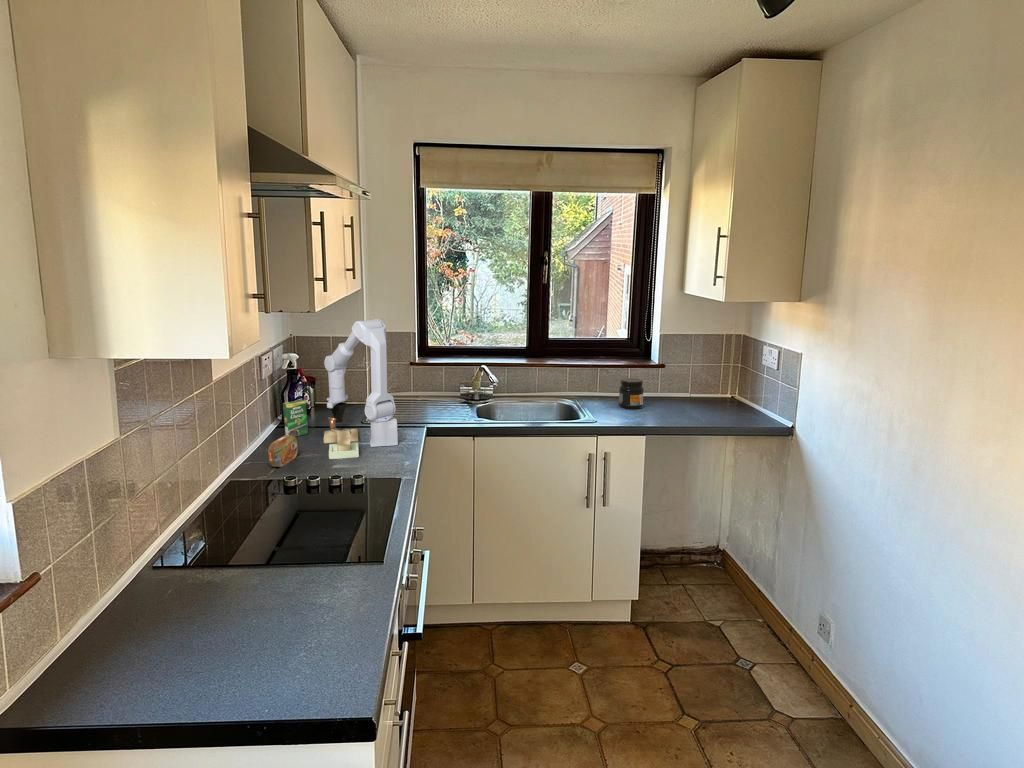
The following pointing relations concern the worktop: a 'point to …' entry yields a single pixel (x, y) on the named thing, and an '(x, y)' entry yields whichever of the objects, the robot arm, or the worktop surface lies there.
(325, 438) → the crank base
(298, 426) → the green cardboard box
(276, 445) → the tin
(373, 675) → the worktop surface
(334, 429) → the crank
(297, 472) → the worktop surface
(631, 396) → the supplement container
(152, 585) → the worktop surface
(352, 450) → the tray
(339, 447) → the block
